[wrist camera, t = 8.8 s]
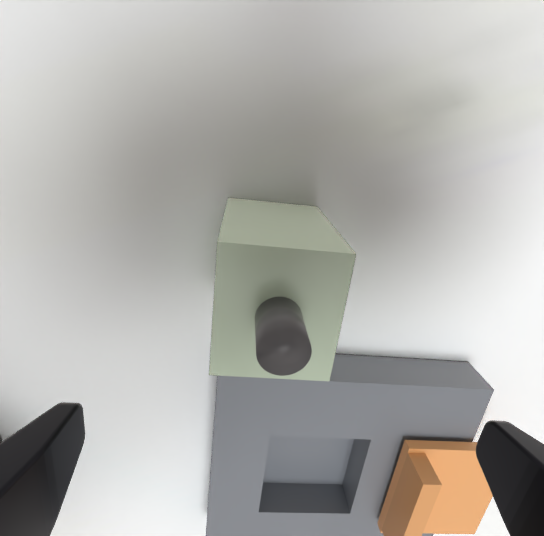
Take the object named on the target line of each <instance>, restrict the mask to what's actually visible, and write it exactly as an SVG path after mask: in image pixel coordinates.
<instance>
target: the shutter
mask: <svg viewBox="0 0 544 536" xmlns="http://www.w3.org/2000/svg"><path fill="white" fill-rule="evenodd" d="M476 445H477V442H453V441H426V440H405V441H404V444H403V447H402V450H401V453H400V456H399V459H398V462H397V465H396V468H395V471H394V474H393V477H392V480H391V483H390V486H389V489H388V492H387V495H386V498H385V501H384V504H383V507H382V510H381V513H380V516H379V520H378V523H377V524H378V527H379V530H380V533H383V535H384V536H422V534H423V533H432V534H475V532H476V530H477V528H478V526H479V524H480V521H481V519H482V517H483V515H484V513H485V511H486V509H487V507H488V505H489V503H490V501H491V499H492V497H493V495H492V492H491V490H490V488H489V485H488V483H487V481H486V478H485V476H484V473H483V471H482V469H481V466H480V464H479V462H478V459H477V456H476Z"/></svg>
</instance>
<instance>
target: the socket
mask: <svg viewBox="0 0 544 536" xmlns="http://www.w3.org/2000/svg"><path fill="white" fill-rule="evenodd" d="M493 391H494V389H493V388H492V387H491V386H490V385H489V384H488V383H487V382H486V381H485V380H484V378H483V377H482V376H481V375H480V374H479V373H478V372H477V371H476V370H475V369H474V368H473V366H472V365H471V364H470V363H469V362H462V361H445V360H429V359H412V358H396V357H379V356H363V355H346V354H335V357H334V362H333V367H332V372H331V376H330V381H312V380H293V379H274V378H255V377H235V376H218V379H217V392H216V405H215V419H214V432H213V446H212V459H211V472H210V486H209V499H208V513H207V526H206V536H384V535H383V533H380V530H379V527H378V524H377V523H378V520H379V516H380V513H381V510H382V507H383V504H384V501H385V498H386V495H387V492H388V489H389V486H390V483H391V480H392V477H393V474H394V471H395V468H396V465H397V462H398V459H399V456H400V453H401V450H402V447H403V444H404V441H405V440H426V441H453V442H472V441H473V439H474V436H475V434H476V432H477V429H478V427H479V424H480V422H481V420H482V417H483V415H484V413H485V410H486V408H487V405H488V403H489V401H490V398H491V396H492V393H493ZM422 536H433V534H432V533H423V534H422Z"/></svg>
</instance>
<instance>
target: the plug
mask: <svg viewBox="0 0 544 536" xmlns="http://www.w3.org/2000/svg"><path fill="white" fill-rule="evenodd" d="M355 258H356V253H355V252H354V251H353V249H352V248H351V247H350V246H349V245H348V243H347V242H346V241H345V240H344V239H343V237H342V236H341V235H340V234H339V232H338V231H337V230H336V229H335V228H334V226H333V225H332V224H331V223H330V222H329V220H328V219H327V218H326V217H325V215H324V214H323V213H322V212H321V211H320V209H319V208H318V207H317V206H307V205H297V204H287V203H277V202H267V201H258V200H248V199H238V198H228V200H227V204H226V208H225V212H224V216H223V220H222V224H221V228H220V232H219V236H218V240H217V253H216V269H215V285H214V301H213V317H212V333H211V349H210V366H209V375H216V376H235V377H255V378H274V379H293V380H312V381H330V376H331V372H332V367H333V362H334V357H335V353H336V348H337V343H338V338H339V334H340V329H341V324H342V319H343V315H344V310H345V305H346V300H347V296H348V291H349V286H350V281H351V277H352V272H353V267H354V262H355Z"/></svg>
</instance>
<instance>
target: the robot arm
mask: <svg viewBox="0 0 544 536" xmlns="http://www.w3.org/2000/svg"><path fill="white" fill-rule="evenodd" d="M84 439H85V427H84V417H83V408H82V405H81V404H79V403H65V402H63V403H59V404H57V405H55V406H54V407H52V408H51V409H49V410H48V411H46V412H45V413H44V414H42V415H41V416H39V417H38V418H36V419H35V420H33V421H32V422H30V423H29V424H28V425H26V426H25V427H23V428H22V429H20V430H19V431H17V432H16V433H15V434H13V435H12V436H10V437H9V438H7V439H6V440H4V441H3V442H1V443H0V536H50V534H51V532H52V529H53V527H54V525H55V522H56V520H57V517H58V514H59V512H60V509H61V506H62V503H63V500H64V498H65V495H66V492H67V489H68V486H69V484H70V481H71V478H72V475H73V472H74V469H75V467H76V464H77V461H78V458H79V455H80V453H81V450H82V447H83V444H84ZM476 456H477V459H478V462H479V464H480V466H481V469H482V471H483V473H484V476H485V478H486V481H487V483H488V485H489V488H490V490H491V492H492V495H493V497H494V500H495V502H496V504H497V507H498V509H499V512H500V514H501V516H502V519H503V521H504V523H505V525H506V527H507V530H508V532H509V534H510V536H544V444H542V443H541V442H539V441H538V440H536V439H534V438H533V437H531V436H530V435H528V434H526V433H525V432H523V431H522V430H520V429H518V428H517V427H515V426H514V425H512V424H510V423H509V422H506V421H488V422H487V423H486V424H485V426H484V428H483V431H482V433H481V435H480V438H479V440H478V442H477V445H476Z"/></svg>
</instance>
